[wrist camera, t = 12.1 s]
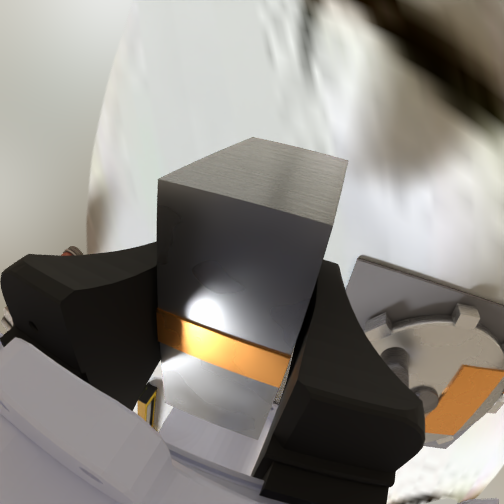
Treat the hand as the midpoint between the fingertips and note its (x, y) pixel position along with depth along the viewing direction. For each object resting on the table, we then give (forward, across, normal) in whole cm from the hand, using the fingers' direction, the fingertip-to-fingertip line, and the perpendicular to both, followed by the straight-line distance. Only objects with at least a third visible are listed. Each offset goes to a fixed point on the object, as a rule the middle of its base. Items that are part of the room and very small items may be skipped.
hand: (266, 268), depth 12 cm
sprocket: (+9, -13, +12) cm, 20 cm away
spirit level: (+9, +14, +43) cm, 46 cm away
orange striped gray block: (+2, 0, 0) cm, 2 cm away
